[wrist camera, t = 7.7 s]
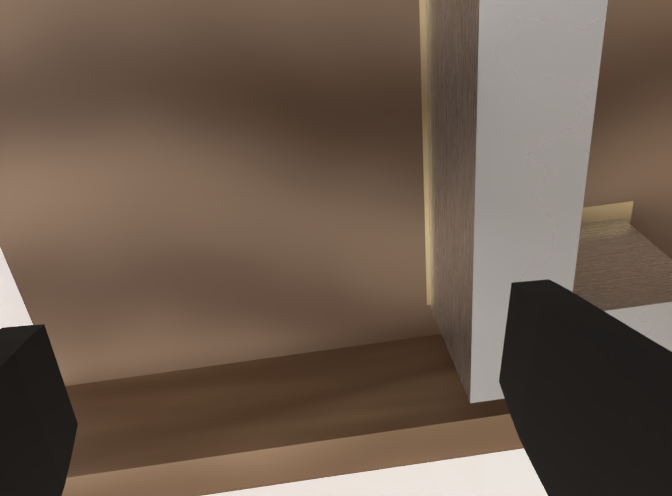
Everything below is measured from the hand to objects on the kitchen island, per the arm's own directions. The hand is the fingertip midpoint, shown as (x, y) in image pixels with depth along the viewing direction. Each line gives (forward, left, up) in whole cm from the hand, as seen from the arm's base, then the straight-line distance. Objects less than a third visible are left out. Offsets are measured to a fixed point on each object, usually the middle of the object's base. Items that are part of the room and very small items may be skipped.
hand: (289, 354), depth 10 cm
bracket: (0, +7, -9) cm, 11 cm away
